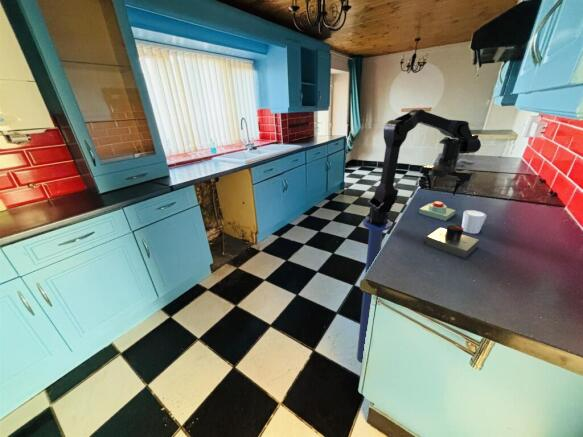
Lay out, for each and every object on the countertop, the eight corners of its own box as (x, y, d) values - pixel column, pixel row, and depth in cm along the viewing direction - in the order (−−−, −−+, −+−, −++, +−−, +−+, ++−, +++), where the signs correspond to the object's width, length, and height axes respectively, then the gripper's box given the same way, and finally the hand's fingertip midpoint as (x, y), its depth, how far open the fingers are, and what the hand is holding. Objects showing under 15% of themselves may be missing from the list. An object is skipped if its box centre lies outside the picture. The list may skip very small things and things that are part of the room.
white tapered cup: (466, 224, 94) (470, 208, 91) (485, 231, 88) (491, 214, 85) (455, 228, 91) (459, 212, 89) (474, 236, 86) (479, 218, 83)
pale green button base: (418, 213, 106) (420, 204, 104) (428, 207, 111) (430, 199, 109) (445, 220, 98) (447, 212, 96) (454, 214, 103) (456, 206, 101)
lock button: (431, 206, 103) (432, 202, 102) (435, 204, 105) (436, 200, 104) (440, 208, 100) (441, 204, 100) (444, 206, 102) (445, 202, 102)
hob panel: (425, 243, 83) (427, 236, 81) (438, 234, 88) (440, 227, 87) (464, 258, 74) (467, 250, 73) (476, 247, 79) (479, 239, 78)
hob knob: (442, 237, 80) (445, 226, 78) (448, 233, 82) (451, 222, 81) (457, 242, 77) (460, 231, 75) (462, 238, 79) (465, 226, 77)
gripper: (416, 155, 96) (410, 192, 102) (469, 161, 82) (458, 203, 88) (429, 151, 101) (423, 186, 108) (481, 156, 88) (470, 196, 94)
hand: (441, 192), depth 99 cm, fingers open, 9 cm apart
